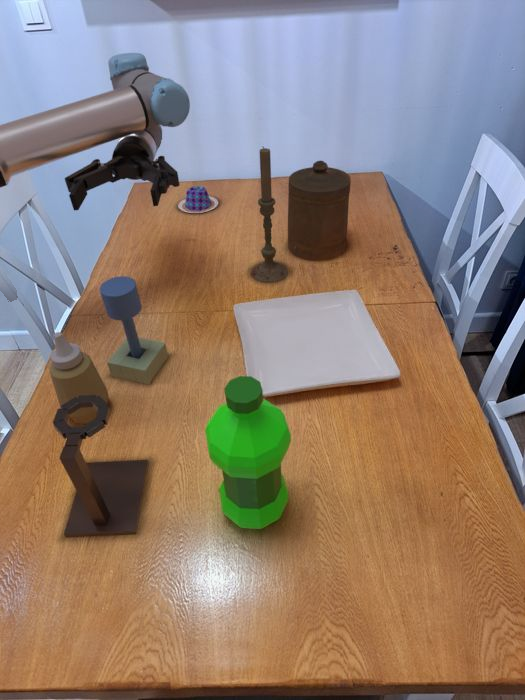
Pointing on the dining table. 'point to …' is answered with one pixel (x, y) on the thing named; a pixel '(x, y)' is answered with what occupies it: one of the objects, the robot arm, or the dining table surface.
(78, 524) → the peg stand
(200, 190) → the pudding
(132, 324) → the peg
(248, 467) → the plastic bottle
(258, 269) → the candlestick holder
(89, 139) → the robot arm
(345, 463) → the dining table surface
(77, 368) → the squeeze bottle
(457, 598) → the dining table surface
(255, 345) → the square plate
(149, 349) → the socket block
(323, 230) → the wooden container
